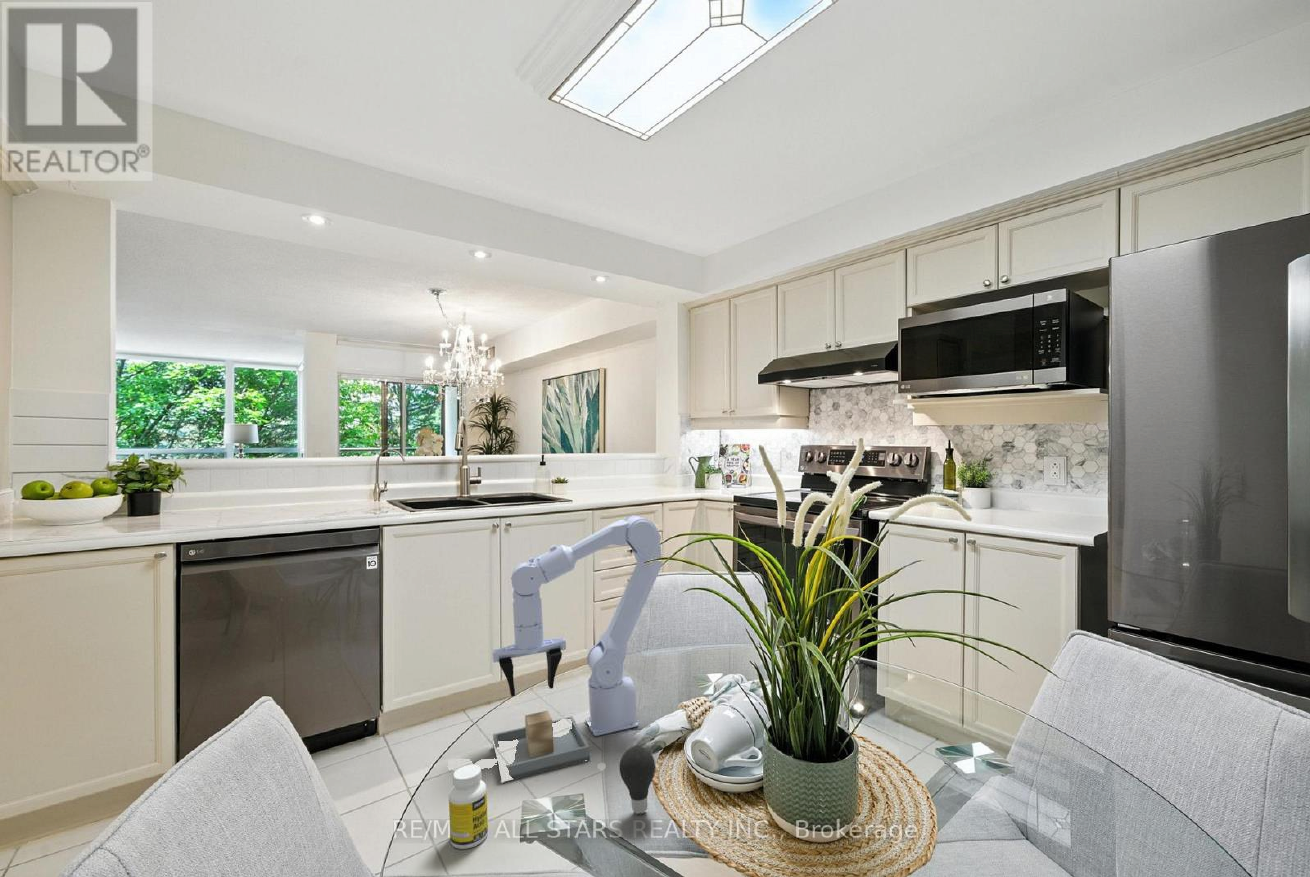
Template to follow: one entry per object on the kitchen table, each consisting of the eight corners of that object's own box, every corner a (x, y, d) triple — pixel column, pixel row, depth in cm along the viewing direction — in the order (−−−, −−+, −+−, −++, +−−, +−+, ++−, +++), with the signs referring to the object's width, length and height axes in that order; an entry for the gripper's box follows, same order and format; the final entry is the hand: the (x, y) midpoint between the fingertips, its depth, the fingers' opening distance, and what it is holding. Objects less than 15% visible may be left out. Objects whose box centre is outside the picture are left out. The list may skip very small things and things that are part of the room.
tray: (572, 728, 118) (572, 716, 119) (590, 760, 105) (589, 746, 106) (493, 746, 113) (492, 734, 113) (501, 783, 100) (500, 768, 100)
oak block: (549, 741, 112) (547, 710, 112) (553, 751, 108) (552, 719, 108) (526, 747, 110) (525, 715, 110) (530, 757, 106) (528, 725, 106)
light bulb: (654, 799, 92) (651, 737, 92) (660, 821, 87) (657, 754, 87) (620, 805, 91) (616, 742, 91) (624, 827, 86) (620, 760, 86)
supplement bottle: (477, 852, 82) (473, 783, 82) (443, 849, 83) (440, 781, 84) (495, 827, 87) (491, 762, 88) (462, 825, 88) (459, 761, 89)
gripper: (493, 634, 110) (497, 705, 109) (567, 622, 115) (571, 690, 115) (490, 625, 116) (493, 692, 116) (560, 614, 122) (563, 678, 121)
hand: (531, 690), depth 116 cm, fingers open, 7 cm apart
